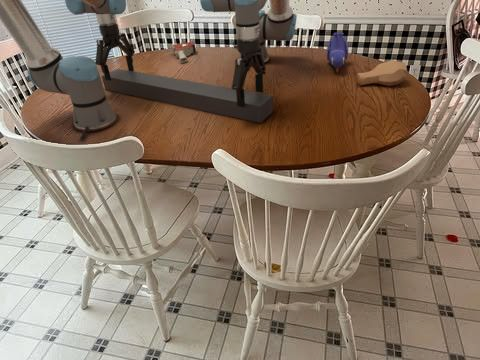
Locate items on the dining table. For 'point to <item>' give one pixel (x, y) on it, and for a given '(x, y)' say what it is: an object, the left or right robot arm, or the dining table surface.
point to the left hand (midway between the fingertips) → (120, 75)
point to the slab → (190, 94)
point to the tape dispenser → (183, 50)
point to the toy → (337, 50)
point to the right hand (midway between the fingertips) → (250, 99)
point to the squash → (384, 74)
